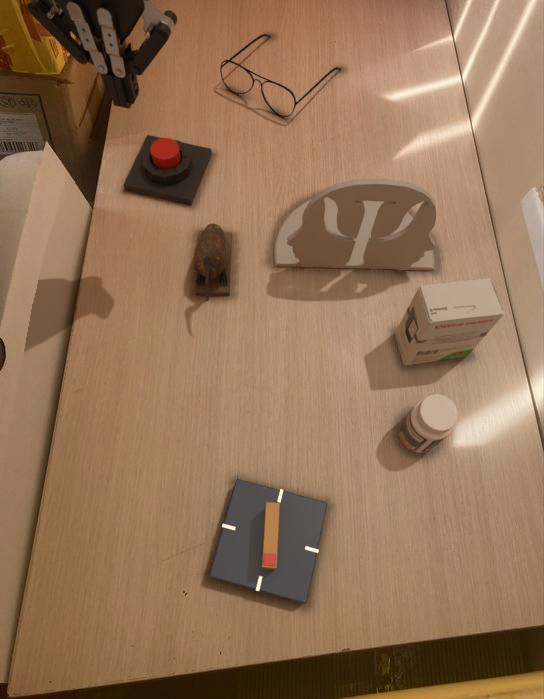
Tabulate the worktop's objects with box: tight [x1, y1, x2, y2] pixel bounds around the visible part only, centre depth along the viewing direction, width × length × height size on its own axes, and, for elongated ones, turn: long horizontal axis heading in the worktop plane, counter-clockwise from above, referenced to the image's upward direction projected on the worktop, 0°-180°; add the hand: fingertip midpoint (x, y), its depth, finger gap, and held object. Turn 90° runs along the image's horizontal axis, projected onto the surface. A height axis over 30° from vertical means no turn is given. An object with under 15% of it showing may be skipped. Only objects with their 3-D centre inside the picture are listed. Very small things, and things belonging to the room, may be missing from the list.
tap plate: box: [209, 478, 328, 604], centre depth 57 cm, size 10×10×3 cm
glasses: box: [219, 33, 342, 118], centre depth 87 cm, size 14×15×5 cm
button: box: [150, 137, 181, 170], centre depth 76 cm, size 4×4×2 cm
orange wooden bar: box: [262, 502, 280, 570], centre depth 53 cm, size 6×1×4 cm, turn 177°
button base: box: [123, 134, 213, 206], centre depth 78 cm, size 10×10×3 cm
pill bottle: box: [398, 393, 459, 454], centre depth 60 cm, size 5×5×8 cm
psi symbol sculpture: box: [273, 178, 437, 271], centre depth 68 cm, size 22×13×17 cm, turn 89°
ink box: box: [394, 277, 506, 366], centre depth 63 cm, size 9×5×12 cm, turn 98°
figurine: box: [193, 222, 233, 302], centre depth 68 cm, size 14×4×9 cm, turn 0°
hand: (125, 101), depth 53 cm, fingers closed
